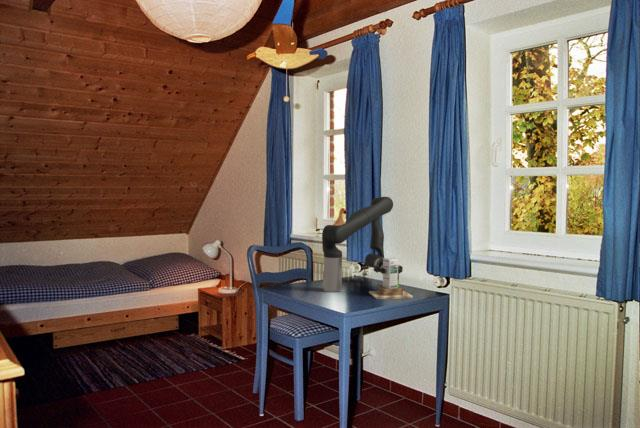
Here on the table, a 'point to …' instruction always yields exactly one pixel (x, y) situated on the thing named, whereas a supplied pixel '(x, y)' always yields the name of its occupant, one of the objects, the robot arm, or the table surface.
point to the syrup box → (391, 273)
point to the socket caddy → (389, 293)
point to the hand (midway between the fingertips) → (392, 271)
